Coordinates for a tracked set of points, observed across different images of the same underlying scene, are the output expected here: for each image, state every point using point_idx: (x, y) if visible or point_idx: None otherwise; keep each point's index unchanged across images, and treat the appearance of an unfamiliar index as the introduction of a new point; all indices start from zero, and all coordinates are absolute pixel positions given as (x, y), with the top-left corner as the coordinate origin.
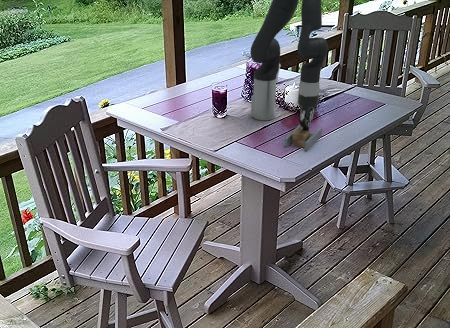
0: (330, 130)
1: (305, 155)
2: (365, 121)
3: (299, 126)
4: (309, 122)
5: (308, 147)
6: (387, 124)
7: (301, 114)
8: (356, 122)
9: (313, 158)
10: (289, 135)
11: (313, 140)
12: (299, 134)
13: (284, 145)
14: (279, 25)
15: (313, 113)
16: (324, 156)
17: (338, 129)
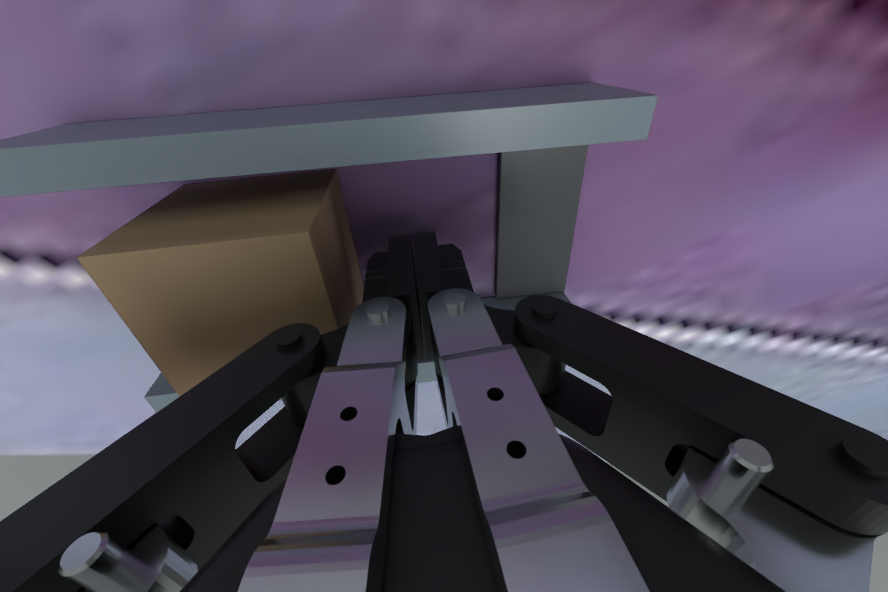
0: (705, 309)
1: (132, 365)
2: (885, 397)
3: (549, 133)
4: (444, 408)
5: None
6: None
7: (270, 537)
8: (872, 372)
9: (150, 416)
10: (116, 166)
11: None
12: (150, 344)
13: (54, 127)
14: None
15: (657, 486)
16: None
17: (734, 341)
